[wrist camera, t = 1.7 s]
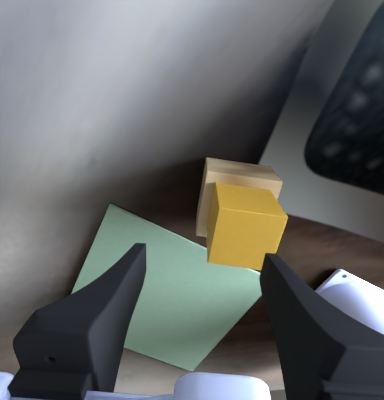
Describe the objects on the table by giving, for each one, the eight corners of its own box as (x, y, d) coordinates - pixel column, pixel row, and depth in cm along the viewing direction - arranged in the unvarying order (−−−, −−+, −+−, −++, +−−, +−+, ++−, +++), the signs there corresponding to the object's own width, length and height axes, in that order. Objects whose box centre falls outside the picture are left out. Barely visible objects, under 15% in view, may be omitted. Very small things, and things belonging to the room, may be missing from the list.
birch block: (270, 166, 22) (283, 182, 19) (254, 222, 25) (263, 245, 21) (206, 156, 22) (206, 170, 19) (196, 214, 25) (195, 235, 21)
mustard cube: (270, 189, 19) (288, 217, 15) (256, 236, 21) (269, 271, 17) (215, 181, 19) (218, 207, 15) (206, 229, 21) (207, 263, 17)
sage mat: (273, 278, 28) (274, 281, 28) (191, 369, 36) (191, 372, 36) (110, 203, 25) (109, 205, 24) (59, 321, 32) (57, 323, 32)
